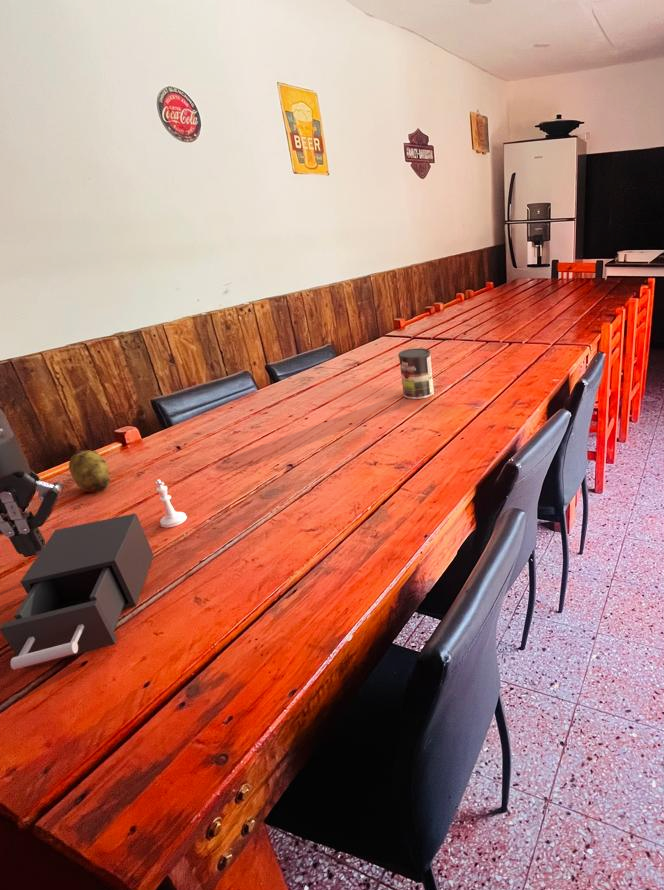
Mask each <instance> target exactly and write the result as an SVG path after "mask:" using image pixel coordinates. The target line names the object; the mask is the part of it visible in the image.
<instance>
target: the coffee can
mask: <svg viewBox="0 0 664 890" xmlns="http://www.w3.org/2000/svg"><path fill="white" fill-rule="evenodd" d="M397 356H398V359H399V367H400V375H401V383H402V392H403V397H404V398H405V399H408V400H423V399H428V398H429V397H432V396H434V394H435V391H434V382H433V381H434V380H433V379H434V378H433V371H432V358H431V350H429V349H427V348H421V347H419V348H407V349H404V350H401V351H400V352H399V353H398V355H397Z"/></svg>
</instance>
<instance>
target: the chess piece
mask: <svg viewBox="0 0 664 890" xmlns="http://www.w3.org/2000/svg"><path fill="white" fill-rule="evenodd" d="M154 484H155V486H158V487H157V488H156V489H155V491H156V493H158V495H159V496H160V497H159V502H163V504H164V508H165V516H163V517H162V518H161V519H160V520H159V523H160V527H162V528H168V529H169V528H173V527H176V526H180V525H181V524H183V523H184V522H185V521H186V520H187V518H188V516H187V515H186V513H185V512H183V511H176V510H175V509H174V507H173V505H172V504H171V501H170V500H171V499H172V495H170V494H168V486H167V485H165V482H163V481H162V480H161V479H160V478H159V479H157V480H156V482H154Z"/></svg>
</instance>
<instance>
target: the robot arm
mask: <svg viewBox="0 0 664 890" xmlns="http://www.w3.org/2000/svg"><path fill="white" fill-rule="evenodd" d="M64 489H65V485H64V483H62V482H59V481H57V482H54V483H49V482H47V481H43V480H41V478H40V477H39V475H38V474H37V473H36V472H34V470H32V469H31V468H30V466H29V462H28V459H27V457H26V454H25V453H24V450H23V449H22V446H21V444H20V442H19V441H18V439H17V437H16V435H15V433H14V431H13V429H12V426H11V425H10V422H9V421H8V418H7V416H6V415H5V413H4V412H3V410H2V409H1V408H0V535H3V536H5V537H8V538H9V540H10V542H11V544H12V546H13V547H14V549H15V551H16V553H17V554H18V555H22V556H23V557H24V558H29V557H34V556H38V555H39V553H40V552H41V551H42V549H43V547H44V546H45V544H46V540H45V538H44V536H43V534H42V532H41V530H40V528H41V527H43V526H44V524H46V521H47V520H48V519H49V518H50V516H51V515H52V513H53V511H54V509H55V506H56V504H57V502H58V501H59V498H60V497H61V496H62V495H61V494H62V493H63V490H64ZM36 493H38V495H37V496H38V498H39V500H40V501H41V503H40V505H39V507H38V509H37V512H36V513H35V511H34V503H33V499H34V496H35V494H36Z"/></svg>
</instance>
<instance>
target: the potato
mask: <svg viewBox="0 0 664 890" xmlns="http://www.w3.org/2000/svg"><path fill="white" fill-rule="evenodd" d="M68 470H69V473H70V475H71V477H72V479H73V480H74V483H75V484H76V486H77V487H79V489H80V490H82V491H84V492H88V493H99V492H103V491H104V490H106V489H107V488H108V487H109V486H110V484H111V477H110V476H111V475H110V474H111V473H110V469H109V466H108V463H107V461H106V459H105V458H104V457H102V455H100V453H98V452H97V450H89V449H85V450H80V451H78V452H76V453H74V454H73V455H72V456H71V457H70V459H69V463H68Z"/></svg>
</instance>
